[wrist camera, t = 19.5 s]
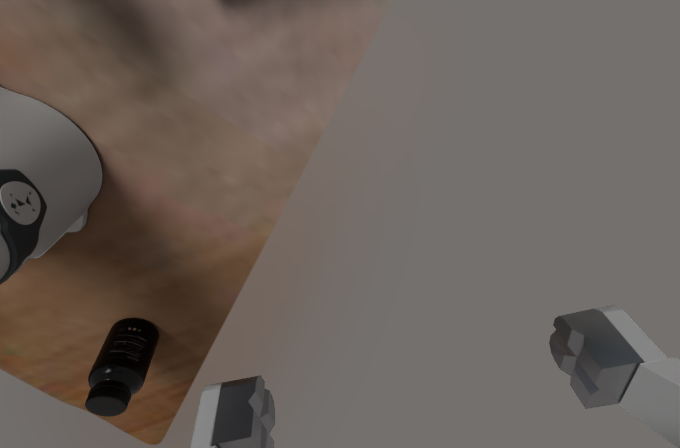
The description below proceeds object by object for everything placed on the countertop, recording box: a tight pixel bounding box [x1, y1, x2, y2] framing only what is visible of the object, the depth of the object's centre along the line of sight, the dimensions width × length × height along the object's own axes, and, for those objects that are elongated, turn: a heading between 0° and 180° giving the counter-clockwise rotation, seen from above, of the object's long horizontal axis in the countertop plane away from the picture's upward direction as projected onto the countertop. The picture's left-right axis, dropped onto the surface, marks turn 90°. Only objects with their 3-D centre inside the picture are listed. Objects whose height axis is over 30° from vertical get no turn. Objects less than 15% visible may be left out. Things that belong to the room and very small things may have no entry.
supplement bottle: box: [85, 318, 159, 416], centre depth 53 cm, size 7×7×12 cm
